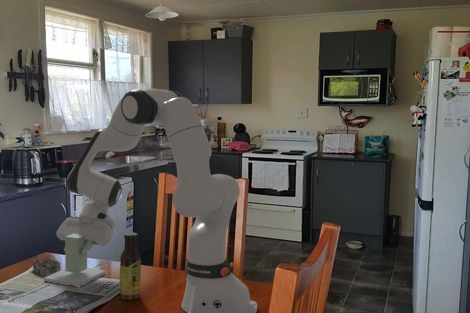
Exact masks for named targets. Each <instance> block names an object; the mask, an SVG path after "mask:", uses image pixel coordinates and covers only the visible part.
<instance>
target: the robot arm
mask: <svg viewBox="0 0 470 313" xmlns="http://www.w3.org/2000/svg"><path fill="white" fill-rule="evenodd" d="M146 125H156V126H160V125H162V126H163V129H164V131H165V134H166V136H167V140H168V142H169V146H170V149H171V151H172V155H173V158H174V161H175V166H176V173H177V175H176V176H177V179H176V180H177V181H176V186H175V188H174V191H173V194H172V203H173V207H174V209H175V211H176V212H177V213H178V214H179V215H180V216H182V217H184V218H185V217H186V218H195V221H194V223H193V225H192V227H191V229H190V230H189V233H188V234H187V235H188V236H187V238H188V239H187V258H186V262H185V264H186V265H185V277H186V284H185V289H184V294H183V299H182V303H181V304H180V306H181V309H182V310H183V311H184V312H185V313H257V312H258V303H257V302H256V301H255V300H251V294H250V291H249V287H248V286H247V285H246V284H245V283H243V282H242V281H241V280H240V279H239V278H238V277H237V276H235V275H234V274H233V272H232V267H233V263H234V262H233V261H232V262H228V260H227V258H226V252H227V251H226V248H227V247H226V246H227V244H226V243H227V232H228V229H229V228H228V227H229V224H230V219H231V216H232V212H233V209H234V206H235V204H236V203H237V201H238V199H239V197H240V193H241V192H240V185H239V183H238V182H237V180H236V179H235V178H234V177H232V176H231V175H228V174H223V173H215V174H211V169H210V158H211V156H212V154H213V153H212V147H211V145H210V142H209V139H208V135H207V132H206V130H205V127H204V124H203V123H202V120H201V117H200V116H199V112H197V110H196V108H195V106H194V105H193V103H192V101H191V100H190V99H188V98H187V97H185V96H184V95H183V94H182V93H180V92H178V91H176V90H172V89H161V88H160V89H159V88H142V89H141V88H137V89H132V90H129V91H127V92H125V94H123V97H122V98H121V99H120V100H119V102H118V103H117V105H116V107H115V109H114V112H113V113H112V116H111V118H110V121H109V123H108V125H107V126H106V127H105V128H104V129H103V128H101V129H98V130H97V131H96V132H95V133H94V134H93V136H91V139H90V140H89V141H88V144H87V145H86V147H85V149H84V150H83V152H82V153H81V155H80V157H79V158H78V160H77V162H76V163H75V166H74V167H73V168H72V169H71V171H70V172H69V174H68V175H67V178H66V181H65V183H66V186H67V188H68V190H69V191H70V193H73V194H75V195H76V194H77V195H81V196H83V197H85V198H88V201H87V202H86V203H85V204H84V205H83V209H82V210H81V212H80V214H79V215H78V216H74V215H70V216H68V217H66V218H65V219H64V221H63V222H62V223H61V225H59V228H58V229H57V230H56V232H55V234H56V237H57V238H58V239H59V240H61V241H65V236H68V235H71V234H81V235H86V236H85V238H84V239H85V240H87V245H86V246H85V247H84V248H81V249H80V252H79V253H80V254H82V255H85V254H86V252H87V253H88V251H89V250H90V249H92V248H94V246H102V247H106V246H108V245H109V243H110V242H111V240H112V237H113V234H114V229H115V228H116V227H117V225H116V223H115V222H114V220H113V218H111V216H110V215H109V211H111V209H112V208H113V207H114V206H116V204H117V202H118V200H119V198H120V196H121V194H122V192H123V188H122V185H121V184H122V183H121V182H120V181H119V180H118V179H116V178H115V177H112V176H110V175H108V174H106V173H102V172H100V171H98V170H96V169H95V170H94V169H93V168H92V167H90V165H91V164H92V162H93V160H94V159H95V156H97V153H99V152H100V153H101V152H116V153H117V152H123V153H124V152H127V151H130V150H132V149H134V148H135V147H137V145H138V144H139V142H140V140H141V138H142V136H143V133H144V130H145V128H146ZM63 251H64V252H65V247H63Z"/></svg>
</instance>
